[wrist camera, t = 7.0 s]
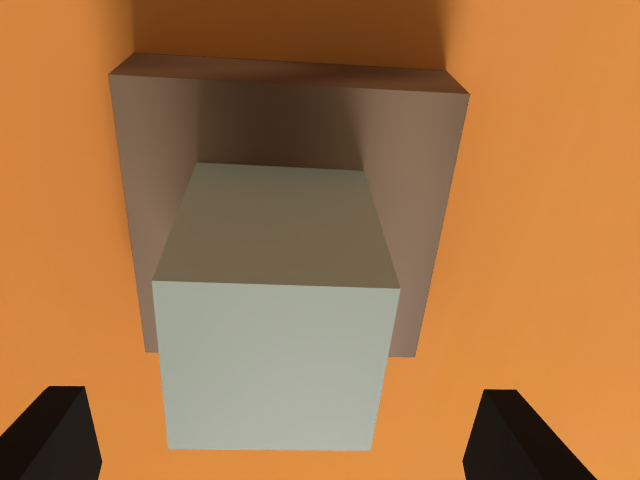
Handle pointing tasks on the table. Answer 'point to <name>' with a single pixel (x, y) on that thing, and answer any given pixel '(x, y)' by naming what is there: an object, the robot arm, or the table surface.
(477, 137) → the table surface
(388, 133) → the walnut base
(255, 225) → the sage cube
